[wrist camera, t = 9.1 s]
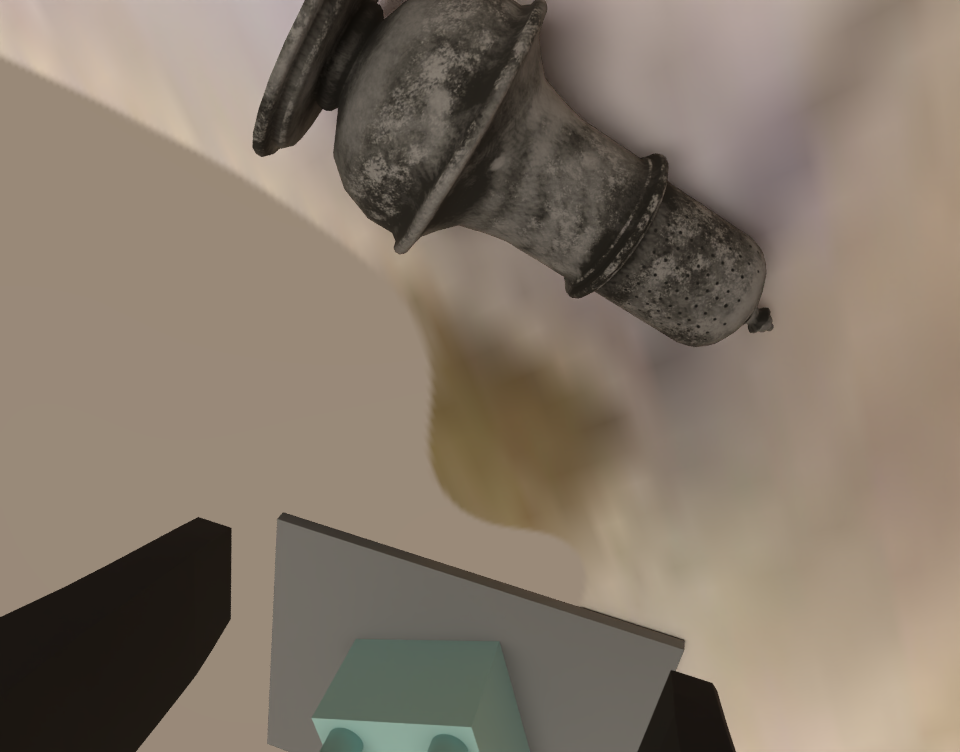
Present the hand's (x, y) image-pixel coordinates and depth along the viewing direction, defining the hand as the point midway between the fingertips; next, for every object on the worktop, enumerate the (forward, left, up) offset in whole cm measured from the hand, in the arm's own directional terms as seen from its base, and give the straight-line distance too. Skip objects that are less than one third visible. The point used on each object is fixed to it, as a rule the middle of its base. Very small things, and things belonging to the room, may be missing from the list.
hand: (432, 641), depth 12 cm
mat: (+1, +14, -10) cm, 17 cm away
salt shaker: (+6, -8, -7) cm, 12 cm away
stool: (+1, +14, -10) cm, 17 cm away
